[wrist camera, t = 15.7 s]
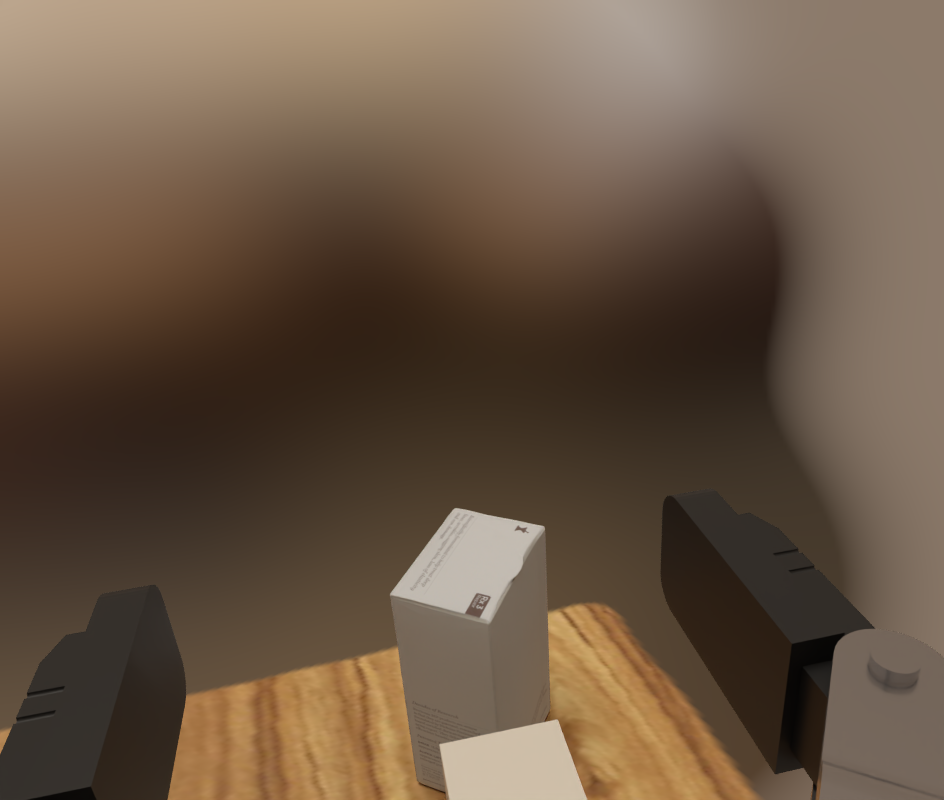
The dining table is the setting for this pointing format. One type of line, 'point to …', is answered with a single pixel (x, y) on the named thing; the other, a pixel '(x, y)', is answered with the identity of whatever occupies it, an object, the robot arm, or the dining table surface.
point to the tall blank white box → (512, 766)
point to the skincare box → (473, 634)
